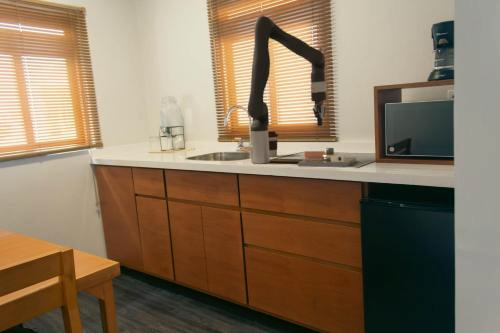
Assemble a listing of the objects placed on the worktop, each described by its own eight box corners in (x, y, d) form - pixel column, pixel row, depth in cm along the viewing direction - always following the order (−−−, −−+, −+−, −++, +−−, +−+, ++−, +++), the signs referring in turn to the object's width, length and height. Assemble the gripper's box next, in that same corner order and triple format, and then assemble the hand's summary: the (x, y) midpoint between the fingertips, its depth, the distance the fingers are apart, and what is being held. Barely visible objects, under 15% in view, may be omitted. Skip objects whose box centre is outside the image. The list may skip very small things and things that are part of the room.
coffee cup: (282, 155, 239) (281, 130, 237) (272, 157, 232) (270, 132, 230) (269, 155, 246) (268, 131, 244) (259, 157, 239) (257, 132, 237)
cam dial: (302, 159, 198) (302, 149, 197) (308, 157, 205) (307, 147, 204) (335, 159, 190) (335, 149, 189) (340, 157, 197) (340, 147, 196)
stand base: (298, 166, 193) (297, 156, 192) (310, 161, 208) (310, 151, 207) (346, 166, 181) (346, 156, 181) (356, 161, 196) (356, 151, 195)
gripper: (315, 92, 207) (317, 125, 210) (306, 92, 196) (308, 127, 198) (329, 90, 204) (331, 124, 206) (321, 90, 192) (322, 126, 195)
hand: (320, 125), depth 202 cm, fingers closed
